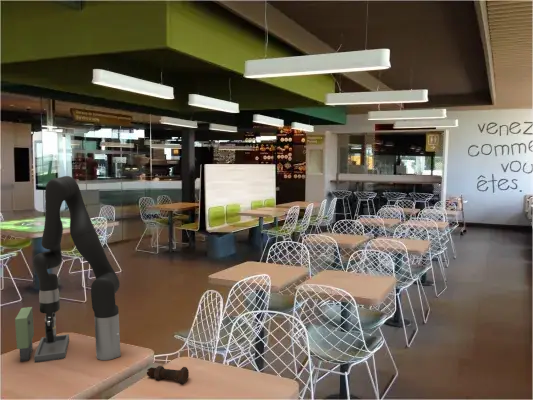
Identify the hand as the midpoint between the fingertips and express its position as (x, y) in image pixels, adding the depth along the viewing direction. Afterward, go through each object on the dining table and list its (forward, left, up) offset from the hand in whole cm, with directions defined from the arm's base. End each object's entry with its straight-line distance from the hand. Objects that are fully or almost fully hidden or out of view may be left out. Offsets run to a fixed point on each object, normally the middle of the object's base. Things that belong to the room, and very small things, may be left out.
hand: (51, 339), depth 191 cm
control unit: (+9, +2, -5) cm, 11 cm away
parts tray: (0, 0, -5) cm, 5 cm away
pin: (0, 0, -1) cm, 1 cm away
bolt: (-43, +41, -5) cm, 59 cm away
